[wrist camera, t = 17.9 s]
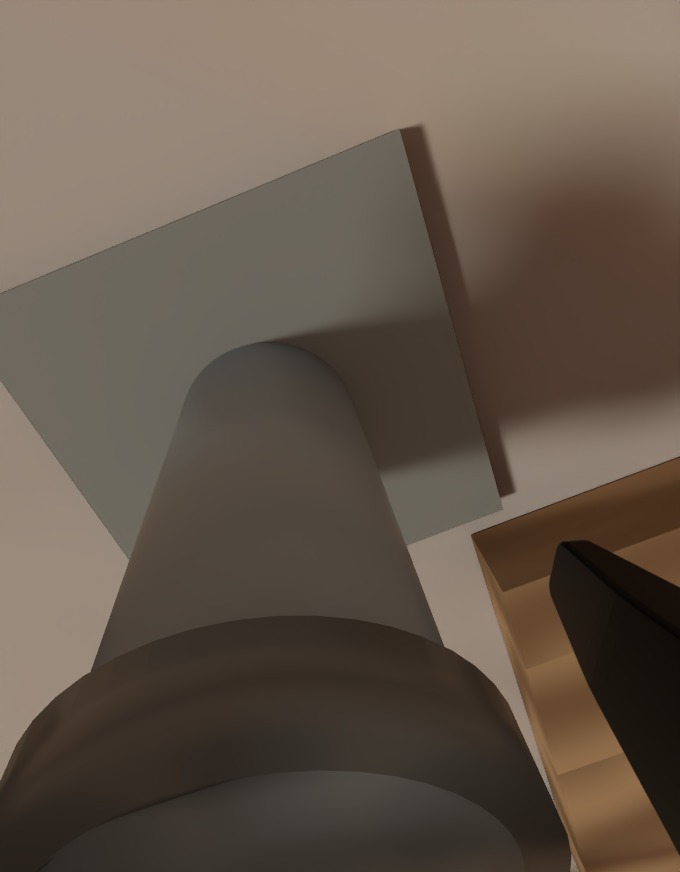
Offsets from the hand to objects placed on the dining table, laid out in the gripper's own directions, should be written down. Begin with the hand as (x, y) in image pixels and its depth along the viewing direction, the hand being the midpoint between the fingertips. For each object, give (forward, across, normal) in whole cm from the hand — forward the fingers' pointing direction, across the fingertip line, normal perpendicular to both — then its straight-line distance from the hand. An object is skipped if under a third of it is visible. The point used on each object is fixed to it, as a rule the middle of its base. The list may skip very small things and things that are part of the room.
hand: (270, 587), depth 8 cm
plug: (+6, 0, 0) cm, 6 cm away
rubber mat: (+6, 0, 0) cm, 7 cm away
